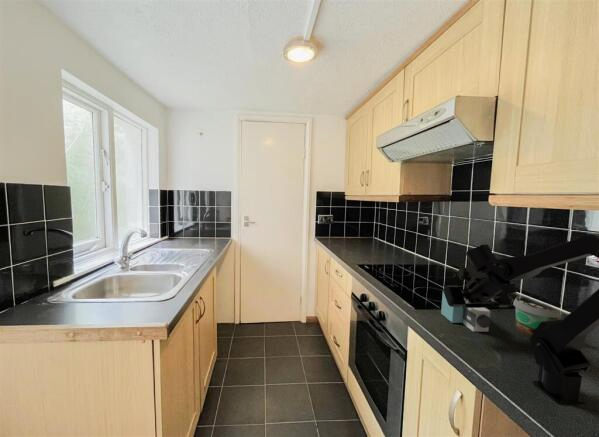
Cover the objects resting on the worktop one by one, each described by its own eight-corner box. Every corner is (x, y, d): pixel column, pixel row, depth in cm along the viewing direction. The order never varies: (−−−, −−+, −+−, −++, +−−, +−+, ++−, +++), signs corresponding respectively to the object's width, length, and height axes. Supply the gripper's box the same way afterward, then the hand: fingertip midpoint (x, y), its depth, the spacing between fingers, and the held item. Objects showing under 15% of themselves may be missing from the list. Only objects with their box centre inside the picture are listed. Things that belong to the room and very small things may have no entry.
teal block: (462, 322, 94) (464, 297, 93) (452, 322, 94) (454, 296, 93) (450, 313, 101) (452, 289, 100) (441, 313, 101) (442, 289, 100)
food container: (502, 326, 93) (505, 297, 92) (513, 323, 95) (516, 295, 94) (544, 345, 82) (548, 313, 81) (557, 341, 84) (561, 310, 83)
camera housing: (490, 333, 88) (492, 310, 87) (474, 333, 88) (476, 310, 87) (465, 314, 101) (466, 295, 100) (451, 314, 101) (453, 294, 100)
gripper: (507, 261, 84) (480, 284, 96) (448, 261, 84) (428, 284, 96) (527, 296, 77) (495, 316, 89) (462, 295, 77) (438, 315, 89)
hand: (463, 306), depth 91 cm, fingers closed
